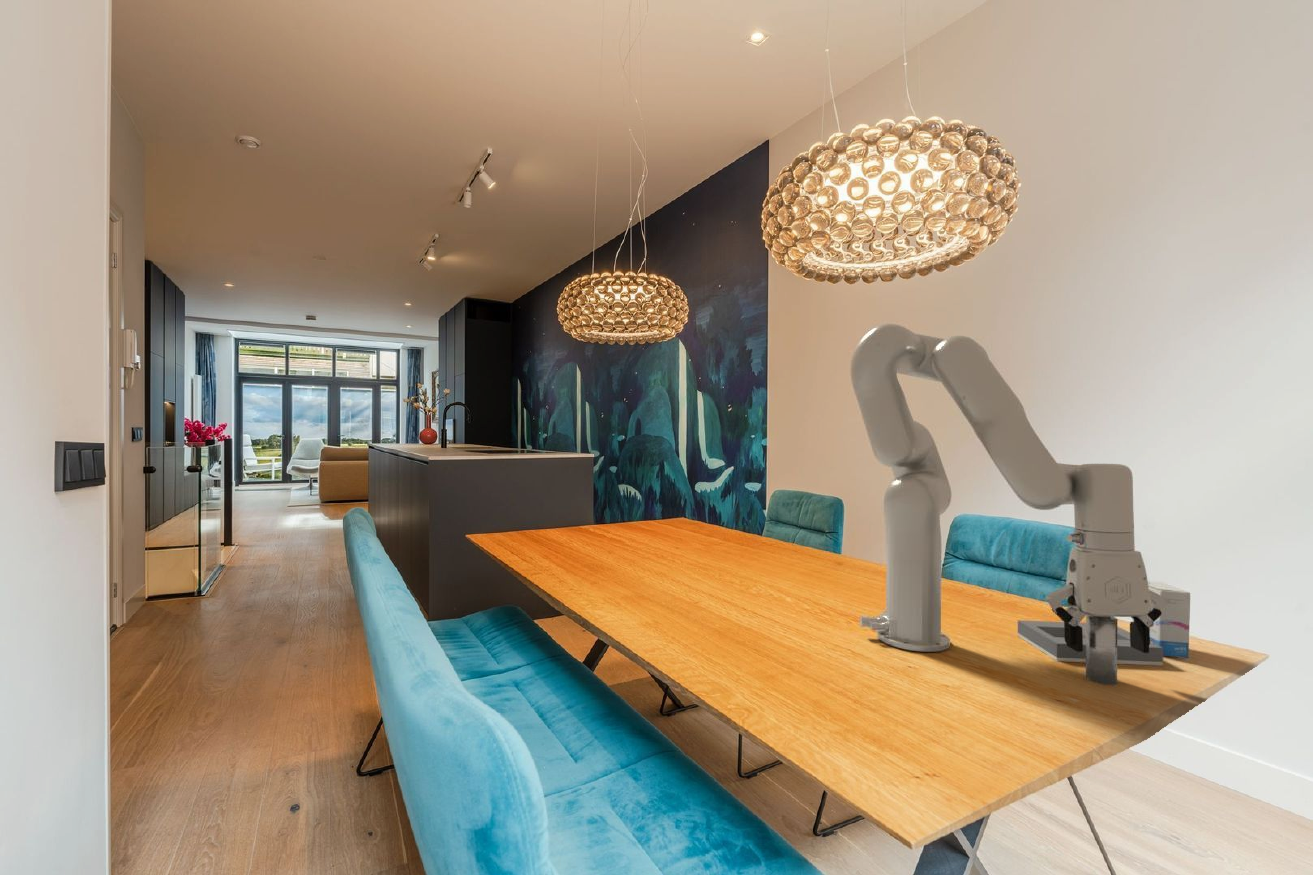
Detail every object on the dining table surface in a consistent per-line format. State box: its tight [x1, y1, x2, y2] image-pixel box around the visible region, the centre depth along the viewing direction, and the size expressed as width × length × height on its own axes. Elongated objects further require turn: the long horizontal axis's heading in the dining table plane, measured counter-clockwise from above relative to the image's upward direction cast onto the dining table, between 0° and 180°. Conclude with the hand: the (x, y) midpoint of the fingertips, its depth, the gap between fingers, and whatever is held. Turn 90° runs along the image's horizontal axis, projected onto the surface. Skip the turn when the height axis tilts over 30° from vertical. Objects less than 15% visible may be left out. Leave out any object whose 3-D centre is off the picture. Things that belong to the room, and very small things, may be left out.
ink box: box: [1131, 580, 1191, 659], centre depth 108 cm, size 9×5×12 cm, turn 168°
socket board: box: [1017, 620, 1164, 666], centre depth 107 cm, size 17×13×3 cm
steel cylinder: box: [1085, 615, 1119, 686], centre depth 94 cm, size 4×4×13 cm
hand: (1106, 649), depth 93 cm, fingers open, 9 cm apart
